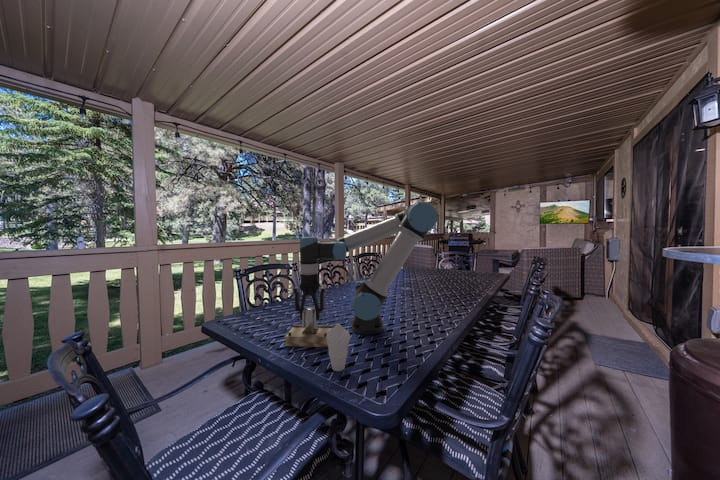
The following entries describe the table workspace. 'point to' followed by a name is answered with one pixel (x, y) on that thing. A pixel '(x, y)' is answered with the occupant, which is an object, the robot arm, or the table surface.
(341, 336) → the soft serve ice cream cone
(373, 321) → the robot arm
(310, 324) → the grey metal peg
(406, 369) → the table surface
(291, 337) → the plate
